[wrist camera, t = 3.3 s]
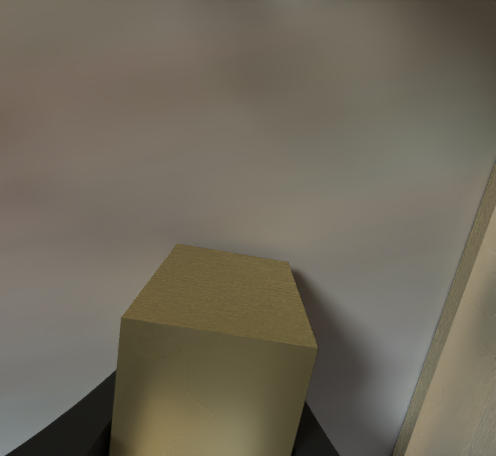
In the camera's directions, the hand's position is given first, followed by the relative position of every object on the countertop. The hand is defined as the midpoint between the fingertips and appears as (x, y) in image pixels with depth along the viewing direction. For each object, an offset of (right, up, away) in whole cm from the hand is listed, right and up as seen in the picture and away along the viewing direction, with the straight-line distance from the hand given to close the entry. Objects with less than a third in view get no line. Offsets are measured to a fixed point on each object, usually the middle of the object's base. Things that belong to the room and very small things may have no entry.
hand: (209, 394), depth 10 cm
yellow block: (0, 0, +1) cm, 1 cm away
